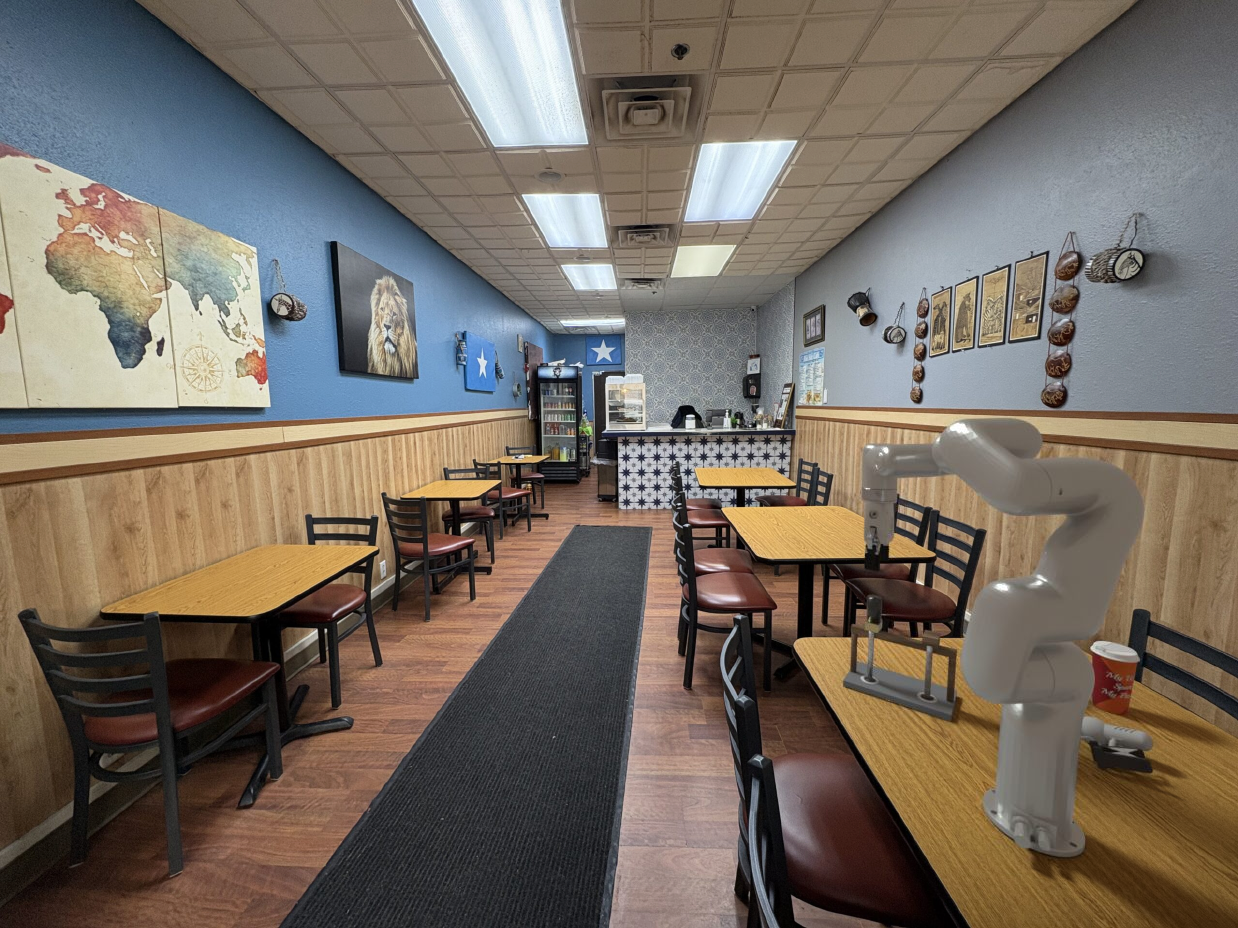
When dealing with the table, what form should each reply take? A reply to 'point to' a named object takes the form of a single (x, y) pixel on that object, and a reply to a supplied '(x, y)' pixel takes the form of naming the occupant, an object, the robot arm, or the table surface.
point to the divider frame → (927, 644)
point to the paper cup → (1113, 676)
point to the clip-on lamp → (1112, 754)
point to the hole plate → (901, 690)
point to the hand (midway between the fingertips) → (876, 565)
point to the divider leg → (873, 626)
